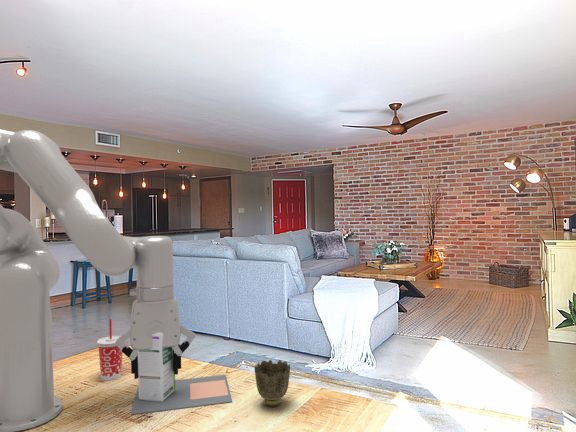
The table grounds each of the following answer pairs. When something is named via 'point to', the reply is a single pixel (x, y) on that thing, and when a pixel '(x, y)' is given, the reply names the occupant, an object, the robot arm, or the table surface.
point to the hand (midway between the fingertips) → (156, 373)
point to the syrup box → (156, 371)
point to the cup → (272, 381)
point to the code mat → (188, 395)
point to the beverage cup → (110, 357)
